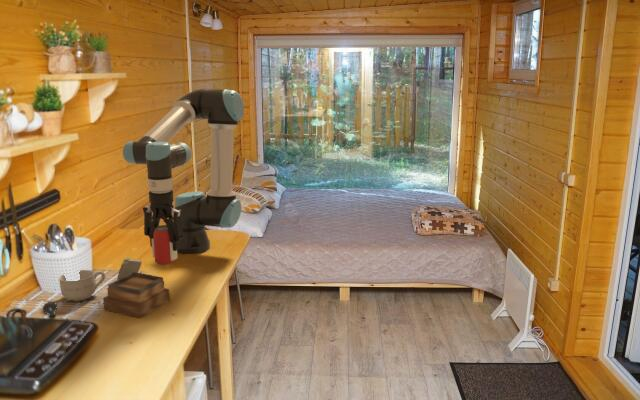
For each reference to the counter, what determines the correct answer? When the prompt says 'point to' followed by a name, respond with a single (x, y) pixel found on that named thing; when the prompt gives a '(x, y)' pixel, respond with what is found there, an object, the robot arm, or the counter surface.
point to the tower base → (137, 307)
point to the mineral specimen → (129, 267)
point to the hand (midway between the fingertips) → (165, 257)
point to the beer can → (162, 245)
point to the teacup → (80, 285)
